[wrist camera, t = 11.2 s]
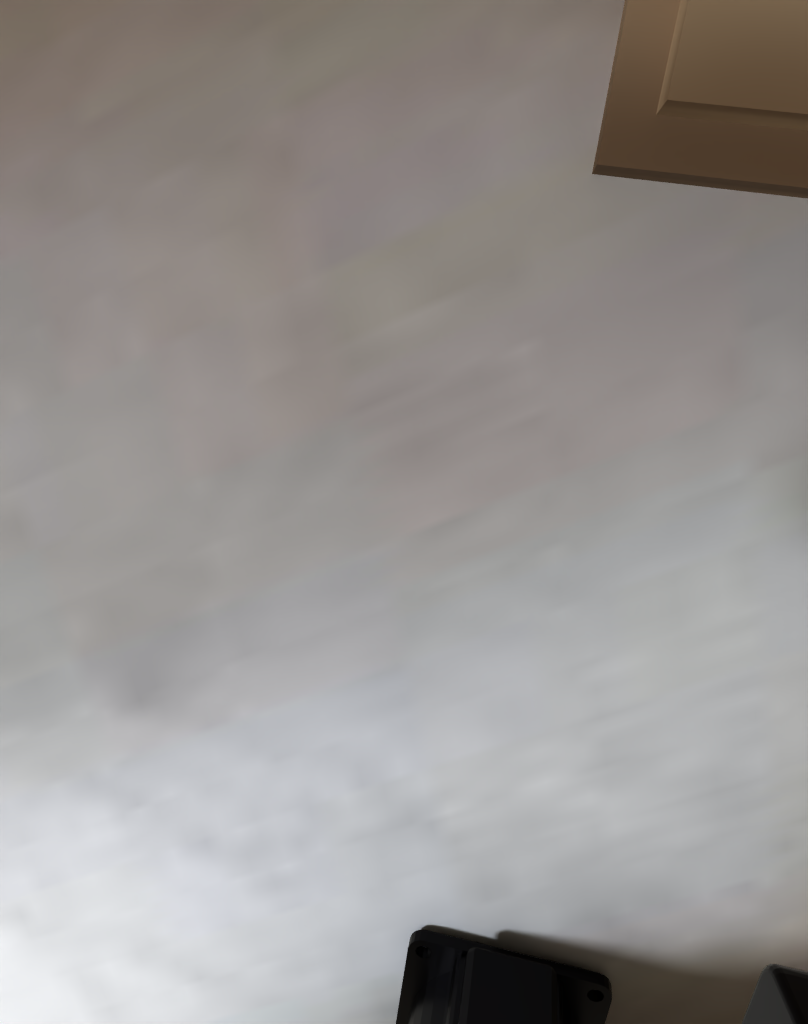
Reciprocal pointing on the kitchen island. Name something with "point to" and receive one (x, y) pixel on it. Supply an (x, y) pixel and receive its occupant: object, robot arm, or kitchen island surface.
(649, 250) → the kitchen island surface
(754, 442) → the kitchen island surface
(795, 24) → the top slab
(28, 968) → the kitchen island surface
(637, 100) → the bottom slab
